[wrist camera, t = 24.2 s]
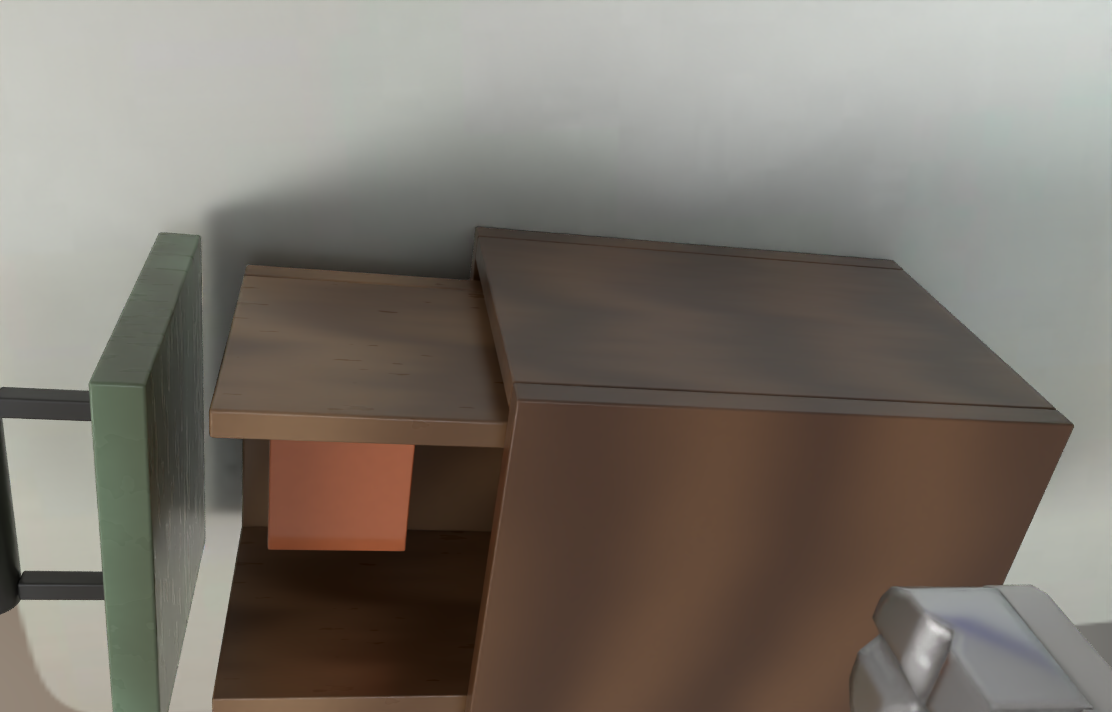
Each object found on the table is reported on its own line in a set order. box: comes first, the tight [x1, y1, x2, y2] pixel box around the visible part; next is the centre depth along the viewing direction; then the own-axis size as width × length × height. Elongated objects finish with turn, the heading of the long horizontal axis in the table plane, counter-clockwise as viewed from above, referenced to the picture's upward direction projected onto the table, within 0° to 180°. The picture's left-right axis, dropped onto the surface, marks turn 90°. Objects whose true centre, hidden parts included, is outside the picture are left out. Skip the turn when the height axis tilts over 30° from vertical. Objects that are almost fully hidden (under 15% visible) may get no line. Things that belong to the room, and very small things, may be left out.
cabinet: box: [465, 227, 1074, 712], centre depth 32 cm, size 15×13×11 cm
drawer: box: [0, 232, 509, 712], centre depth 30 cm, size 18×11×9 cm, turn 81°
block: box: [268, 440, 416, 551], centre depth 31 cm, size 4×4×4 cm
